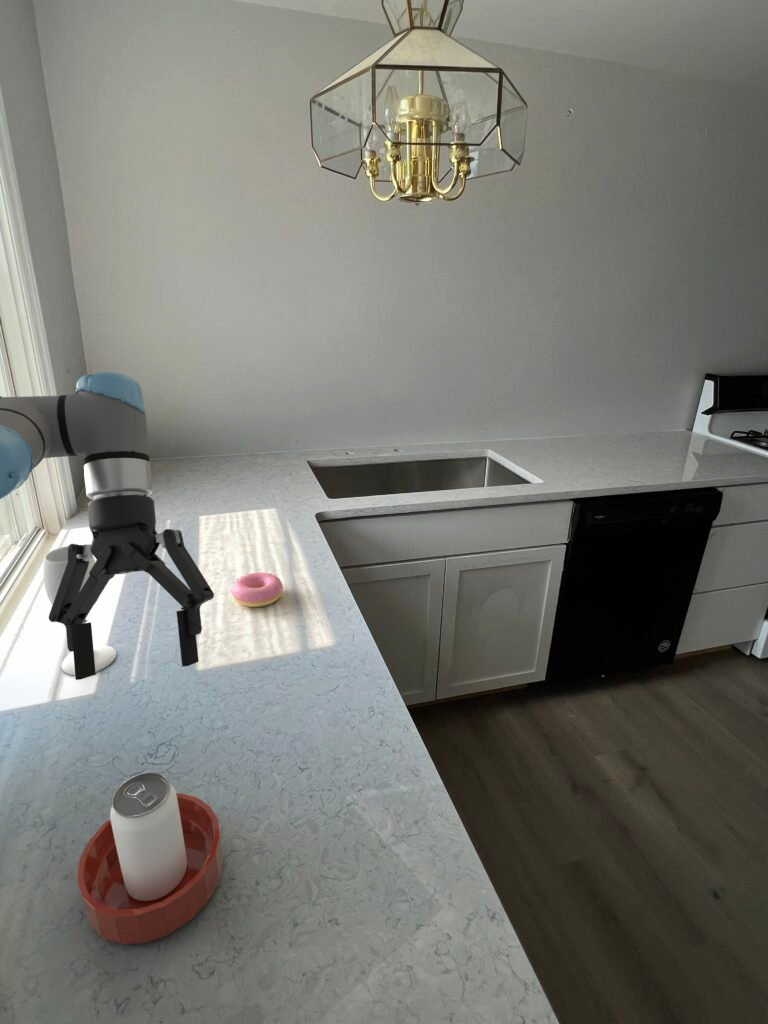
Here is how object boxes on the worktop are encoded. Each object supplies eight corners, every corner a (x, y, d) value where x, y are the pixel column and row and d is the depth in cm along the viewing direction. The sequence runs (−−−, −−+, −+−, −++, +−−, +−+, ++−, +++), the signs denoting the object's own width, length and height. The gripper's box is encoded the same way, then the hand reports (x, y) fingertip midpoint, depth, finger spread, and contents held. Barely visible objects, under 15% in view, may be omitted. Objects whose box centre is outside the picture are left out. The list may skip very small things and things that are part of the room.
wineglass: (68, 682, 93) (42, 570, 86) (57, 657, 99) (32, 551, 92) (122, 662, 98) (102, 555, 91) (108, 640, 105) (89, 538, 97)
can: (161, 838, 66) (147, 759, 62) (200, 865, 63) (188, 784, 58) (112, 883, 61) (93, 801, 56) (151, 916, 58) (134, 831, 53)
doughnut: (282, 583, 127) (281, 566, 125) (284, 607, 117) (283, 590, 115) (232, 587, 124) (231, 570, 123) (231, 612, 114) (229, 595, 113)
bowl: (72, 870, 63) (63, 838, 61) (195, 803, 71) (190, 774, 70) (106, 982, 53) (97, 948, 51) (244, 889, 61) (241, 857, 59)
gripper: (228, 486, 72) (247, 652, 70) (51, 515, 74) (64, 676, 72) (202, 479, 64) (222, 664, 62) (6, 511, 67) (20, 689, 65)
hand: (137, 671), depth 67 cm, fingers open, 13 cm apart
